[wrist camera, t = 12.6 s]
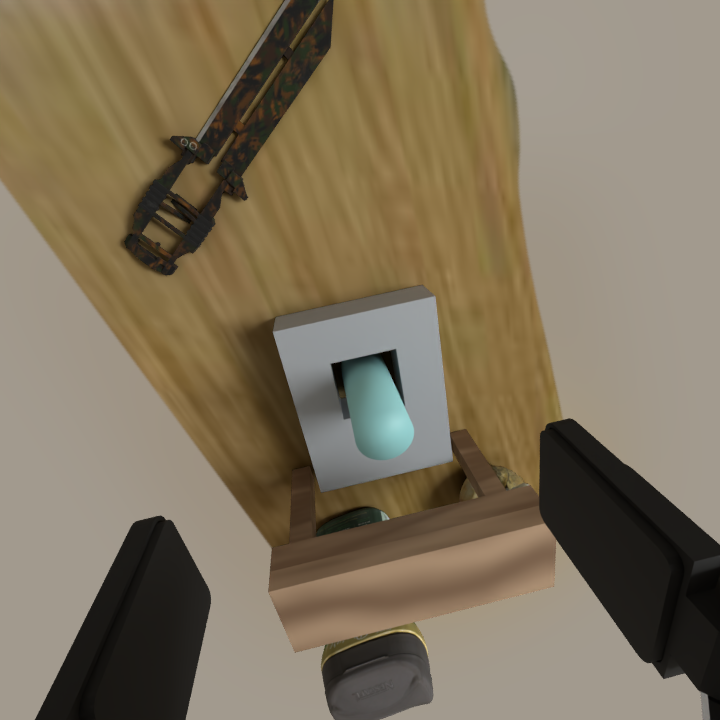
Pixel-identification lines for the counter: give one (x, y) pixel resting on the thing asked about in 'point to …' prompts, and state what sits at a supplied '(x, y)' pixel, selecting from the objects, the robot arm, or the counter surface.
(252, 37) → the counter surface
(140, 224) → the knife
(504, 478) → the onion
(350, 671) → the coffee jar
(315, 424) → the socket
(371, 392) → the peg
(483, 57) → the counter surface
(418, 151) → the counter surface
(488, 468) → the open wooden frame
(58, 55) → the counter surface
